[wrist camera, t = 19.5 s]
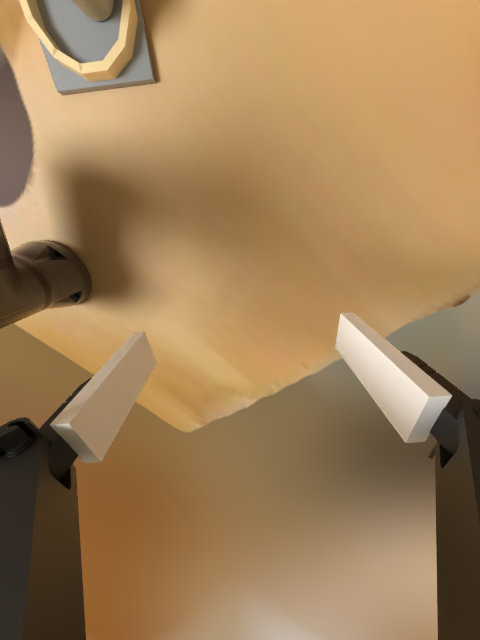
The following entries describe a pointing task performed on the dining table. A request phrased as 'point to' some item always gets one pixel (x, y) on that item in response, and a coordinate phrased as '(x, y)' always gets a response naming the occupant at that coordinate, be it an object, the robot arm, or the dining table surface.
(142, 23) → the collar plate
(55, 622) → the robot arm
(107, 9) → the flower pot
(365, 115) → the dining table surface
